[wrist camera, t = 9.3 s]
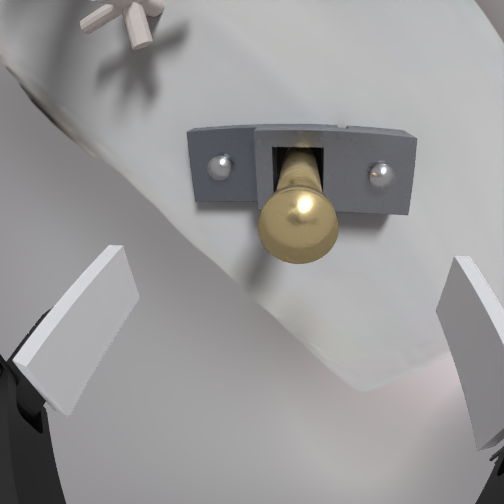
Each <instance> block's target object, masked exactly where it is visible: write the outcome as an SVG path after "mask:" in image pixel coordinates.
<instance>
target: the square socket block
mask: <svg viewBox="0 0 504 504" xmlns="http://www.w3.org/2000/svg"><path fill="white" fill-rule="evenodd" d="M187 139H188V148H189V156H190V164H191V172H192V180H193V187H194V195H195V202H206V201H258V210H262V208H263V206H264V204H265V202H266V200H267V199H268V198H269V197H270V196H271V195H272V194H273V193H274V192H275V191H276V190H277V186H278V182H279V181H278V177H277V148H276V147H321V187H322V193H324V194H325V195H326V196H327V197H328V198H329V200H330V201H331V203H332V204H333V206H334V208H335V212H357V213H377V214H395V215H408V213H409V206H410V199H411V192H412V185H413V176H414V167H415V157H416V146H417V138H416V137H414V136H412V135H410V134H409V133H407V132H405V131H402V130H394V129H384V128H372V127H359V126H347V128H338V127H337V125H319V124H261V125H236V126H219V127H206V128H194V129H192V130H190V131H187Z"/></svg>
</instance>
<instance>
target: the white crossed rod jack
mask: <svg viewBox="0 0 504 504" xmlns="http://www.w3.org/2000/svg"><path fill="white" fill-rule="evenodd" d="M91 1H96V2H101V3H105V5H104V6H102V7H100V8H99V9H97V10H96V11H94V12H93V13H91V14H90V15H88V16H86V17H85V18H84V19H82V20H81V21H80V27H81V29H82V31H83V32H84V33H87V34H89V33H92V32H93V31H95V30H96V29H98V28H100V27H101V26H103V25H104V24H106V23H108V22H110V21H111V20H113V19H115V18H116V17H118V16H120V15H122V14H123V16H124V20H125V24H126V28H127V31H128V35H129V39H130V42H131V46H132V49H133V50H138V49H142V48H145V47H147V46H149V45H151V44H152V43H153V39H152V36H151V32H150V29H149V25H148V22H147V18H146V15H148V16H151V17H156V16H159V15H160V14H161V13H162V12H163V10H164V5H163V3H162V2H160V1H157V0H91Z"/></svg>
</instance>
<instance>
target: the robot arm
mask: <svg viewBox="0 0 504 504" xmlns="http://www.w3.org/2000/svg"><path fill="white" fill-rule="evenodd" d="M139 298H140V297H139V294H138V291H137V288H136V285H135V282H134V279H133V276H132V273H131V270H130V266H129V263H128V260H127V257H126V253H125V250H124V247H123V246H116V245H115V246H114V245H109V246H108V247H107V248H106V249H105V250H104V251H103V252H102V253H101V254H100V255H99V256H98V257H97V258H96V259H95V260H94V262H93V263H92V264H91V265H90V266H89V267H88V268H87V269H86V270H85V271H84V273H83V274H82V275H81V276H80V277H79V278H78V279H77V280H76V281H75V283H74V284H73V285H72V286H71V287H70V288H69V290H67V292H66V293H65V294H64V295H63V297H62V298H61V299H60V300H59V301H58V302H57V303H56V305H55V306H54V307H52V308H51V309H50V310H48V311H47V312H46V313H45V314H43V315H42V316H41V318H40V319H39V320H38V321H37V323H36V324H35V326H33V328H32V329H31V330H30V333H29V334H27V335H26V337H25V338H24V339H23V340H22V342H21V343H20V345H19V346H18V347H17V348H16V350H15V351H14V352H13V354H12V355H11V357H10V358H9V359H8V360H7V362H6V361H5V360H4V359H3V357H2V356H1V355H0V504H66V502H65V498H64V495H63V491H62V488H61V484H60V480H59V476H58V472H57V467H56V463H55V458H54V454H53V448H52V442H51V437H50V431H49V424H48V417H47V412H46V409H45V408H44V407H43V405H44V403H45V402H47V403H48V404H49V405H50V406H51V407H52V408H53V409H54V410H55V411H57V412H59V413H62V414H64V415H66V416H68V417H69V416H70V414H71V413H72V411H73V409H74V407H75V405H76V403H77V401H78V399H79V398H80V396H81V394H82V392H83V391H84V389H85V387H86V385H87V383H88V382H89V380H90V378H91V376H92V375H93V373H94V371H95V370H96V368H97V366H98V364H99V363H100V361H101V359H102V358H103V356H104V354H105V352H106V351H107V349H108V348H109V346H110V344H111V343H112V341H113V339H114V337H115V336H116V334H117V333H118V331H119V330H120V328H121V326H122V325H123V323H124V321H125V320H126V318H127V317H128V315H129V314H130V312H131V310H132V309H133V307H134V306H135V304H136V303H137V301H138V300H139ZM436 313H437V315H438V318H439V321H440V323H441V326H442V328H443V331H444V334H445V337H446V339H447V342H448V345H449V348H450V351H451V354H452V356H453V359H454V362H455V366H456V368H457V372H458V375H459V378H460V382H461V385H462V388H463V392H464V395H465V400H466V403H467V407H468V411H469V415H470V419H471V423H472V428H473V432H474V437H475V442H476V448H477V451H480V450H484V449H486V448H490V447H494V446H496V445H497V444H498V443H499V442H500V441H501V440H502V439H504V310H503V308H502V306H501V305H500V303H499V301H498V300H497V298H496V296H495V295H494V293H493V291H492V290H491V288H490V286H489V285H488V283H487V282H486V280H485V279H484V277H483V275H482V274H481V272H480V271H479V269H478V268H477V266H476V265H475V263H474V262H473V261H472V259H471V258H470V256H454V259H453V262H452V265H451V268H450V271H449V275H448V278H447V281H446V283H445V286H444V289H443V292H442V295H441V298H440V300H439V303H438V306H437V308H436ZM498 456H499V457H498ZM496 457H498V460H497V461H496V462H495V466H494V469H493V471H492V473H491V475H490V477H489V479H488V481H487V483H486V485H485V487H484V489H483V491H482V493H481V494H480V496H479V498H478V500H477V502H476V503H475V504H504V446H503V447H502V448H501V449H500V450H498V451H497V452H496V453H495V454H493V455H492V457H491V458H490V461H492V460H494V459H495V458H496Z"/></svg>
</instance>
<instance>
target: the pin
mask: <svg viewBox="0 0 504 504" xmlns="http://www.w3.org/2000/svg"><path fill="white" fill-rule="evenodd" d="M258 232H259V236H260V239H261V242H262V243H263V245H264V247H265V248H266V249H267V250H268V251H269V252H270V253H271V254H272V255H273V256H275V257H276V258H278V259H280V260H282V261H285V262H288V263H294V264H304V263H310V262H313V261H316V260H318V259H320V258H321V257H323V256H324V255H326V254H327V253H328V252H329V251H330V250H331V248H332V247H333V245H334V244H335V242H336V239H337V236H338V220H337V216H336V212H335V208H334V206H333V204H332V203H331V201H330V200H329V198H328V197H327V196H326V195H325V194H324V193H322V187H321V182H320V177H319V172H318V167H317V162H316V158H315V154H314V153H313V151H312V150H311V149H310V148H308V147H291V148H289V149H288V150H287V152H286V154H285V156H284V161H283V165H282V169H281V173H280V177H279V182H278V186H277V190H276V191H275V192H274V193H273V194H272V195H271V196H270V197H269V198H268V199H267V200H266V202H265V204H264V206H263V208H262V211H261V214H260V218H259V222H258Z"/></svg>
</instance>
